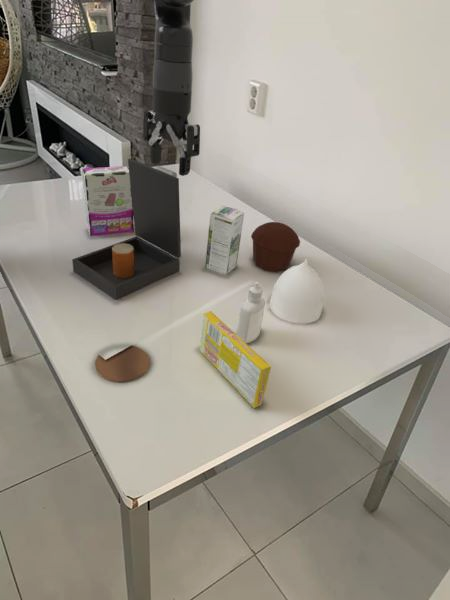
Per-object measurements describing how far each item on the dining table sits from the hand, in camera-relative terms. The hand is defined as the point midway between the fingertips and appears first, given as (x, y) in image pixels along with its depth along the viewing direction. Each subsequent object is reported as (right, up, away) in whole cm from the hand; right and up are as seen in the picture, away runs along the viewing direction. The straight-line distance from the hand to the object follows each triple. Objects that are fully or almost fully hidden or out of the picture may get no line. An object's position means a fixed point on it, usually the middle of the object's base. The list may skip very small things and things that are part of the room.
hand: (169, 168), depth 96 cm
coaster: (-6, -39, -19) cm, 44 cm away
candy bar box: (-18, -11, +20) cm, 29 cm away
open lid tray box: (-10, -22, +4) cm, 25 cm away
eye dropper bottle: (+16, -35, -10) cm, 40 cm away
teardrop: (+27, -30, 0) cm, 40 cm away
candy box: (+12, -41, -19) cm, 47 cm away
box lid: (-4, -8, +2) cm, 9 cm away
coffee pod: (-10, -22, +3) cm, 24 cm away
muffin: (+23, -19, +15) cm, 34 cm away
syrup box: (+11, -21, +10) cm, 26 cm away
